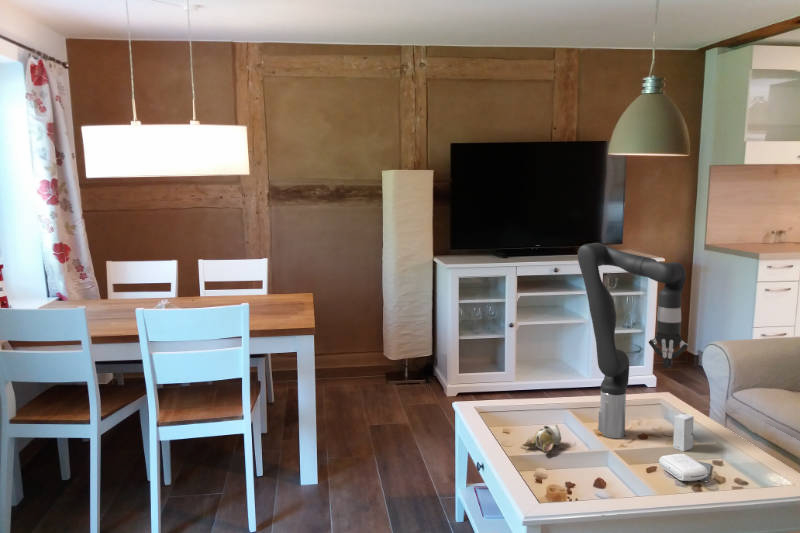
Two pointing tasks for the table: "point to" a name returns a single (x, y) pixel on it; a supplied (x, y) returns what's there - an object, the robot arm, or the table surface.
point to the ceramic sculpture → (545, 438)
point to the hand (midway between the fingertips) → (667, 367)
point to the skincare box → (683, 432)
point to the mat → (708, 467)
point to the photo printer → (683, 467)
